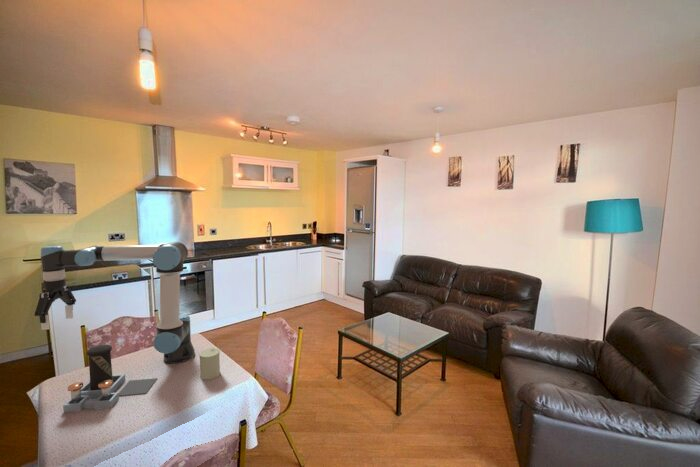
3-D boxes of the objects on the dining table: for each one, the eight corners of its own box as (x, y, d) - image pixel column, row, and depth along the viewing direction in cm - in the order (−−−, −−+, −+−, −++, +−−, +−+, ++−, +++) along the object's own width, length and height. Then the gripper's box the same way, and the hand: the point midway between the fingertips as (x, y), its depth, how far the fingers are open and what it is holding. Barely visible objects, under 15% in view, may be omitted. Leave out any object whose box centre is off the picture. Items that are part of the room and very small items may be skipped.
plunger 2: (116, 393, 135) (115, 379, 134) (109, 400, 130) (108, 385, 129) (103, 394, 134) (102, 380, 133) (96, 401, 129) (95, 386, 128)
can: (223, 370, 160) (223, 347, 159) (214, 380, 151) (213, 356, 150) (206, 369, 161) (205, 346, 160) (196, 379, 152) (195, 355, 150)
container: (100, 396, 137) (98, 352, 135) (84, 393, 139) (81, 350, 137) (119, 385, 145) (116, 344, 144) (103, 382, 147) (100, 342, 145)
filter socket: (125, 380, 150) (124, 374, 149) (110, 396, 137) (109, 390, 137) (94, 382, 147) (94, 376, 147) (76, 399, 135) (75, 393, 134)
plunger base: (118, 398, 135) (118, 392, 135) (111, 407, 130) (110, 401, 129) (73, 403, 132) (73, 396, 132) (63, 412, 126) (63, 405, 126)
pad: (157, 378, 151) (157, 378, 151) (146, 393, 139) (146, 392, 139) (129, 381, 149) (129, 380, 149) (116, 396, 137) (115, 395, 137)
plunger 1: (86, 396, 132) (85, 381, 132) (79, 403, 128) (78, 388, 127) (73, 397, 131) (72, 382, 131) (65, 404, 127) (64, 389, 126)
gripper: (67, 273, 157) (70, 314, 159) (19, 286, 132) (24, 334, 134) (83, 273, 158) (86, 313, 160) (39, 286, 133) (43, 334, 135)
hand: (58, 323), depth 147 cm, fingers open, 13 cm apart
